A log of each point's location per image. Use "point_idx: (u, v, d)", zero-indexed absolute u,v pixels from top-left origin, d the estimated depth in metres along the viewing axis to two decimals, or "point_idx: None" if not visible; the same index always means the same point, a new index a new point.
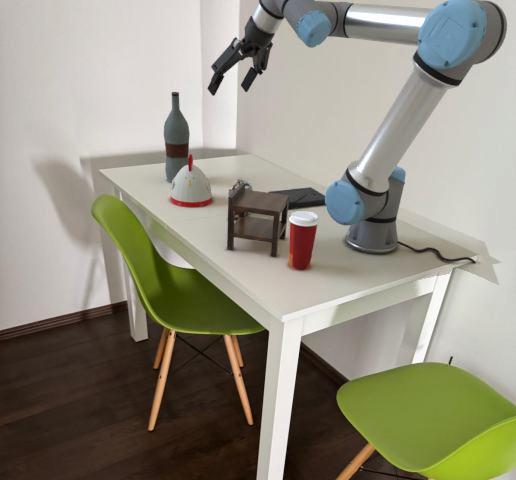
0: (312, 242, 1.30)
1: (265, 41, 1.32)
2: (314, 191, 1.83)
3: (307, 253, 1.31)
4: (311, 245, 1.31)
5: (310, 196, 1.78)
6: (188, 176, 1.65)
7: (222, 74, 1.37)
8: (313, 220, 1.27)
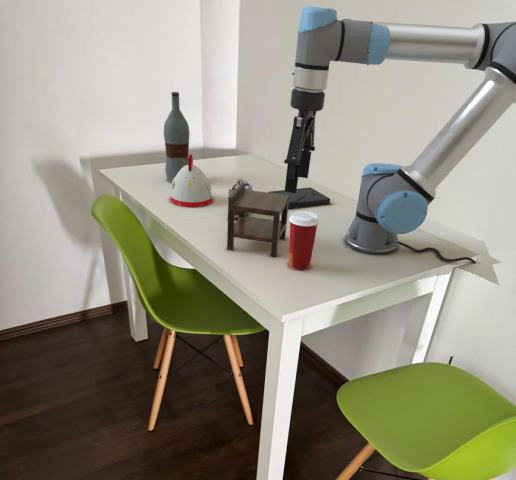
0: (312, 242, 1.30)
1: (322, 101, 1.13)
2: (314, 191, 1.83)
3: (307, 253, 1.31)
4: (311, 245, 1.31)
5: (310, 196, 1.78)
6: (188, 176, 1.65)
7: (299, 162, 1.15)
8: (313, 220, 1.27)
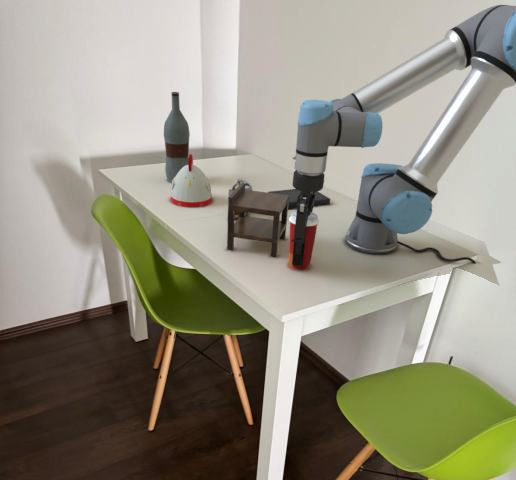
0: (312, 242, 1.30)
1: (322, 182, 1.22)
2: None
3: (307, 253, 1.31)
4: (311, 245, 1.31)
5: None
6: (188, 176, 1.65)
7: (304, 240, 1.27)
8: (313, 220, 1.27)
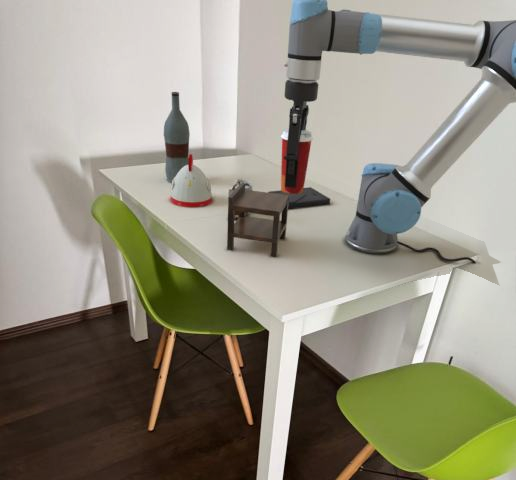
0: (306, 161, 1.23)
1: (316, 91, 1.14)
2: (314, 191, 1.83)
3: (300, 174, 1.24)
4: (305, 165, 1.23)
5: (310, 196, 1.78)
6: (188, 176, 1.65)
7: None
8: (307, 135, 1.19)
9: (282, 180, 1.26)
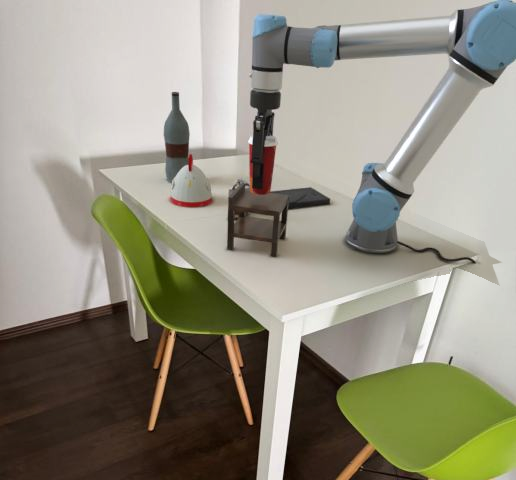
0: (271, 165, 1.32)
1: (279, 100, 1.23)
2: (314, 191, 1.83)
3: (266, 176, 1.33)
4: (270, 168, 1.32)
5: (310, 196, 1.78)
6: (188, 176, 1.65)
7: None
8: (271, 141, 1.28)
9: (250, 182, 1.35)
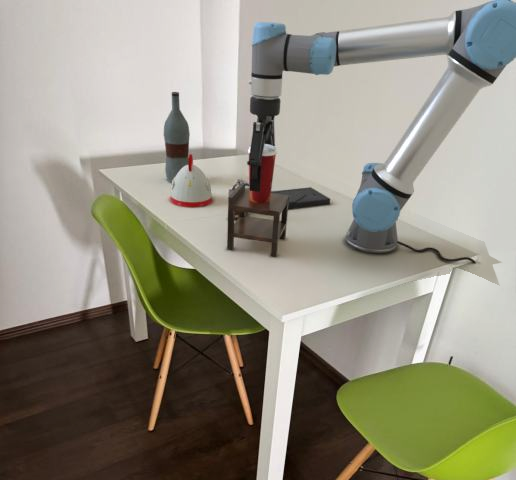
0: (270, 174, 1.33)
1: (278, 106, 1.24)
2: (314, 191, 1.83)
3: (266, 185, 1.34)
4: (270, 177, 1.34)
5: (310, 196, 1.78)
6: (188, 176, 1.65)
7: (260, 163, 1.26)
8: (270, 150, 1.29)
9: None
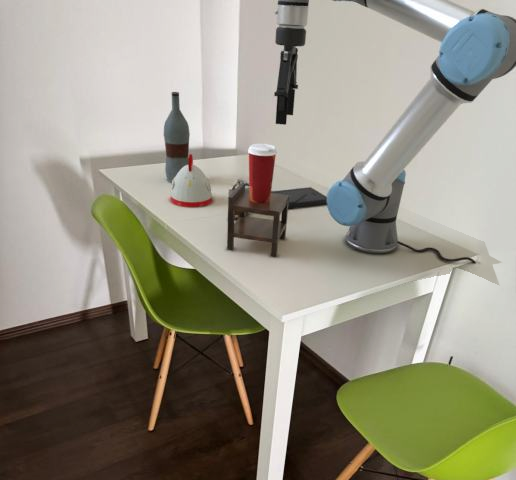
0: (270, 174, 1.33)
1: (304, 36, 1.25)
2: (314, 191, 1.83)
3: (266, 185, 1.34)
4: (270, 177, 1.34)
5: (310, 196, 1.78)
6: (188, 176, 1.65)
7: (287, 94, 1.27)
8: (270, 150, 1.29)
9: (250, 190, 1.37)
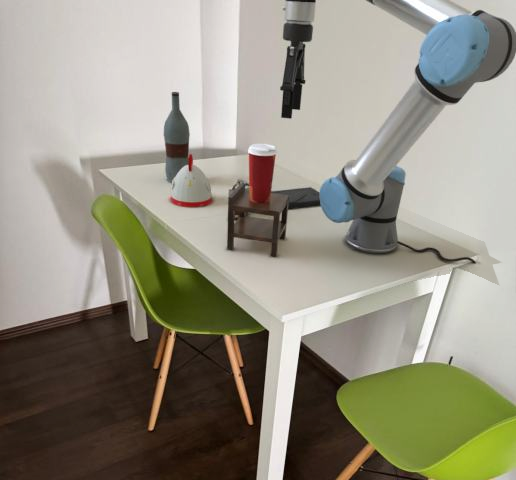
0: (270, 174, 1.33)
1: (311, 32, 1.28)
2: (314, 191, 1.83)
3: (266, 185, 1.34)
4: (270, 177, 1.34)
5: (310, 196, 1.78)
6: (188, 176, 1.65)
7: (293, 88, 1.30)
8: (270, 150, 1.29)
9: (250, 190, 1.37)
